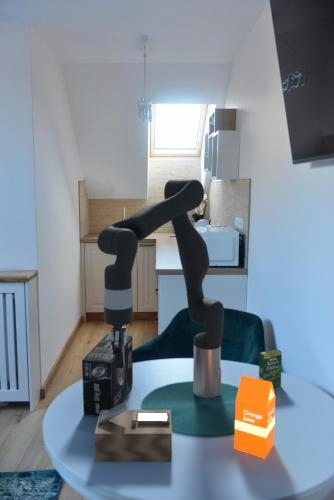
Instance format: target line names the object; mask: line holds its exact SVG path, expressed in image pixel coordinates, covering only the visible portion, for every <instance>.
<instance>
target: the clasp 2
mask: <svg viewBox="0 0 334 500" xmlns="http://www.w3.org/2000/svg"><path fill="white" fill-rule="evenodd" d="M138 424H167V425H169V424H170V415H169V413H166V414H149V413H139V414H138Z"/></svg>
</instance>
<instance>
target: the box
mask: <svg viewBox="0 0 334 500" xmlns="http://www.w3.org/2000/svg"><path fill="white" fill-rule="evenodd" d="M111 342H112V338H111V333H106V335H105V336H104V337H102V339H101V340H100V341H99V342H98V343H97V344H95V346H94V347H93V348H91V350H90V351H89V352H88V353H87V354H86V355H85V356H84V357H83V358H82V359H81V368H82V369H81V370H82V403H83V406H82V407H83V415H84V416H91V417H92V416H93V417H99V415H100V411H101V410H110V409H112V408H114V407H115V406H117V405H119V404H121V403H123V402H125V401H124V400H125V399H126V397H127V396H128V394H129V392H130V391H131V389H132V387H133V383H134V382H133V381H134V380H133V378H134V377H133V336H132V335H126V343H125V347H124V354H123V360H124V365H123V368H115V355H113V350H112V344H111Z"/></svg>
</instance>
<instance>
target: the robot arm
mask: <svg viewBox="0 0 334 500" xmlns="http://www.w3.org/2000/svg"><path fill="white" fill-rule="evenodd" d="M163 196H164V200H160V201H158V202H155V203H152V204H149V205H148V206H144V207H142V208H141V209H139V210H138V211H137V212H135V213H134V214H132V215H131V216H129V217H127V218H125V219H122V220H119V221H116V222H114V223H111V224H110V225H108V226H106V227H104V228H103V229H102V230H101V231H100V233H99V235H98V237H97V241H96V243H97V247H98V249H99V250H100V252H102V253H103V254H106V255H111V256H116V257H115V261H114V263H112V264H108V265H107V266H106V267H105V268H104V271H103V272H104V278H103V279H104V281H103V282H104V293H103V319H104V320H103V321H104V322H105V324H107V325H111V326H112V327H111V329H110V334H111V338H112V342H111V344H112V350H113V355H115V368H123V365H124V360H123V354H124V347H125V343H126V336H127V332H128V331H127V330H128V327H127V325H129V324H131V323H132V322H133V320H134V304H133V303H134V300H133V299H134V295H133V288H132V287H133V283H132V282H133V281H132V277H133V275H132V273H133V267H134V264H135V259H136V257H137V253H138V247H139V241H142V240H145V239H146V238H147V237H149V236H151V234H153V233H154V232H156V231H157V230H158V229H160V228H162V226H164V225H166V224H167V223H169V222H171V224H172V228H173V232H174V236H175V240H176V244H177V249H178V255H179V260H180V265H181V269H182V272H183V278H184V283H185V289H186V290H185V292H186V299H187V307H188V308H187V309H188V316H189V318H190V320H191V322H193V323H194V324H196V325H199V326H204V327H205V331H204V332H200V333H197V334H196V335H195V336H194V338H193V371H192V372H193V374H192V375H193V381H192V382H193V386H192V387H193V388H192V392H193V394H194V395H196V397H198V398H199V397H200V398H205V399H209V398H210V399H212V398H216V397H220V396H222V368H221V358H222V357H221V354H222V352H221V351H222V340H223V337H224V325H225V323H224V322H225V307H224V305H223V303H222V302H221V301H220V300H216V299H211V298H208V297H207V298H206V297H205V294H204V292H203V282H204V279H205V277H206V275H207V273H208V271H209V268H210V257H209V256H210V255H209V252H208V246H207V243H206V241H205V240H204V238H203V236H202V235H201V233H200V232H199V231H198V230H197V229H196V227H195V226H194V224H193V223H192V222H191V219H190V218H189V215H188V213H189V212H190V211H193V210H195V209H197V208H199V206H201V205H202V203H203V201H204V198H205V188H204V186H203V183H202V182H201V181H200V180H198V179H196V178H195V179H194V178H172V179H168V180H167V182H166V183H165V185H164V189H163ZM125 325H126V326H125Z"/></svg>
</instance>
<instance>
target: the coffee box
mask: <svg viewBox="0 0 334 500" xmlns="http://www.w3.org/2000/svg"><path fill="white" fill-rule="evenodd" d="M258 354H259V359H258V360H259V361H258V362H259V363H258V379H260V380H264V381H269V382H272V385H273V388H275V387H276V388H277V387H281V385H282V363H283V362H282V358H283V357H282V351H281V350H280V349H278V348H277V349H273V350H268V351H262V352H259V353H258Z"/></svg>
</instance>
